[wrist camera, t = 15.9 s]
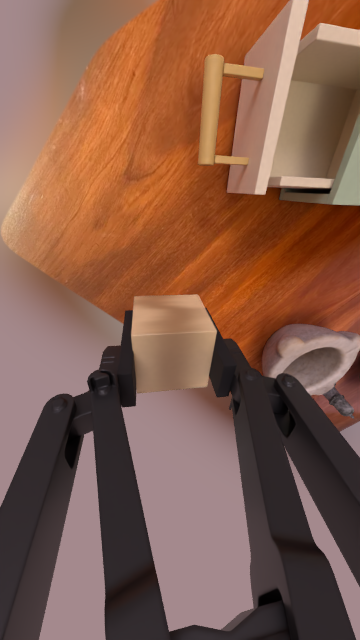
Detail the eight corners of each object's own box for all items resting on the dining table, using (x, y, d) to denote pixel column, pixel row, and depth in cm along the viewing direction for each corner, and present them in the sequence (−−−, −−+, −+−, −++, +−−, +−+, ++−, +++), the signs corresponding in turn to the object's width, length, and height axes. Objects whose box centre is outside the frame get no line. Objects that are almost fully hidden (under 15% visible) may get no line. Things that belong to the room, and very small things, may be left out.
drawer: (187, 191, 26) (203, 192, 19) (194, 48, 20) (221, -22, 13) (318, 196, 29) (370, 199, 22) (360, 73, 22) (450, 27, 16)
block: (138, 346, 18) (136, 394, 14) (134, 295, 15) (131, 335, 11) (193, 343, 19) (207, 387, 15) (198, 294, 16) (217, 330, 12)
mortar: (239, 371, 48) (257, 406, 41) (261, 309, 39) (290, 338, 31) (301, 367, 51) (329, 399, 44) (334, 309, 42) (377, 336, 35)
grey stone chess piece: (319, 382, 56) (357, 424, 46) (300, 384, 55) (335, 427, 45) (329, 367, 53) (372, 408, 43) (309, 368, 52) (349, 411, 42)
